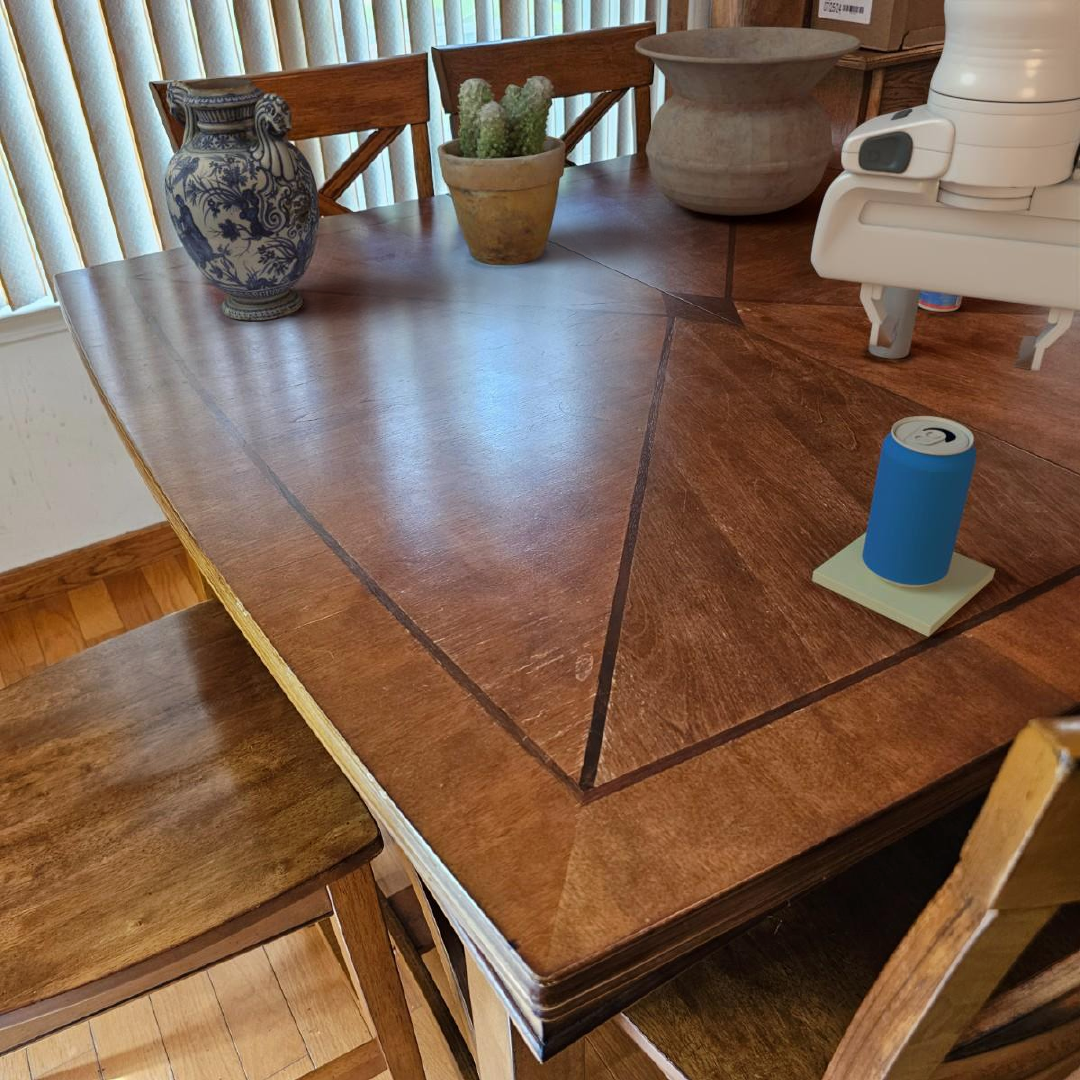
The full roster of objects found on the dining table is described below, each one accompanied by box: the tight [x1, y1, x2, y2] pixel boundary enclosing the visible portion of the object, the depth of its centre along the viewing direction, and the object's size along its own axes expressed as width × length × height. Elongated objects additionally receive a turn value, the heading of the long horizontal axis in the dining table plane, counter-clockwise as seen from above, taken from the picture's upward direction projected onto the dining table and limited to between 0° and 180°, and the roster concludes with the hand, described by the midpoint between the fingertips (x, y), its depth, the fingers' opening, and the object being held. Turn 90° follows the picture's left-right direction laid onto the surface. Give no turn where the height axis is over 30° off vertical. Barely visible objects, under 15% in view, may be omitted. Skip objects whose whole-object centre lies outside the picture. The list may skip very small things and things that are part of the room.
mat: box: [811, 532, 996, 638], centre depth 78 cm, size 10×10×1 cm
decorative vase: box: [164, 77, 320, 322], centre depth 126 cm, size 21×19×28 cm
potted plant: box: [436, 75, 567, 266], centre depth 142 cm, size 18×19×25 cm
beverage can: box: [862, 415, 977, 588], centre depth 74 cm, size 6×6×12 cm
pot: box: [634, 26, 862, 216], centre depth 158 cm, size 34×34×25 cm
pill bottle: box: [918, 291, 964, 313], centre depth 123 cm, size 6×5×10 cm
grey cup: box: [868, 286, 921, 360], centre depth 112 cm, size 4×4×10 cm
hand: (952, 355), depth 67 cm, fingers open, 8 cm apart
